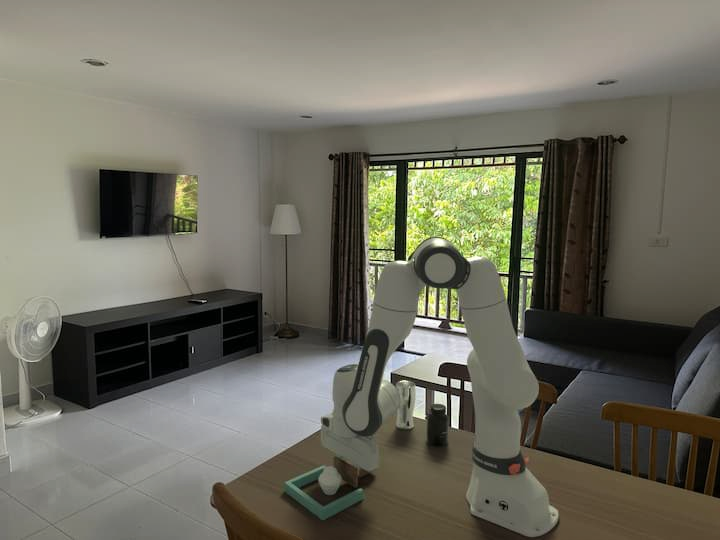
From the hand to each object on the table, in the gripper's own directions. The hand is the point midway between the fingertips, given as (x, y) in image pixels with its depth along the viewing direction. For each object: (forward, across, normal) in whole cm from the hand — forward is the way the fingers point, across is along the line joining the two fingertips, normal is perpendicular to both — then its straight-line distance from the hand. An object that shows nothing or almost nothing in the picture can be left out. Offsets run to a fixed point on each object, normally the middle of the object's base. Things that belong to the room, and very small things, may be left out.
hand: (349, 472), depth 132 cm
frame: (+3, 0, +8) cm, 9 cm away
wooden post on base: (+2, 0, -4) cm, 4 cm away
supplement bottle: (+3, -1, -37) cm, 37 cm away
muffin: (+3, 0, +6) cm, 7 cm away
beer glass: (+3, +14, -38) cm, 41 cm away
